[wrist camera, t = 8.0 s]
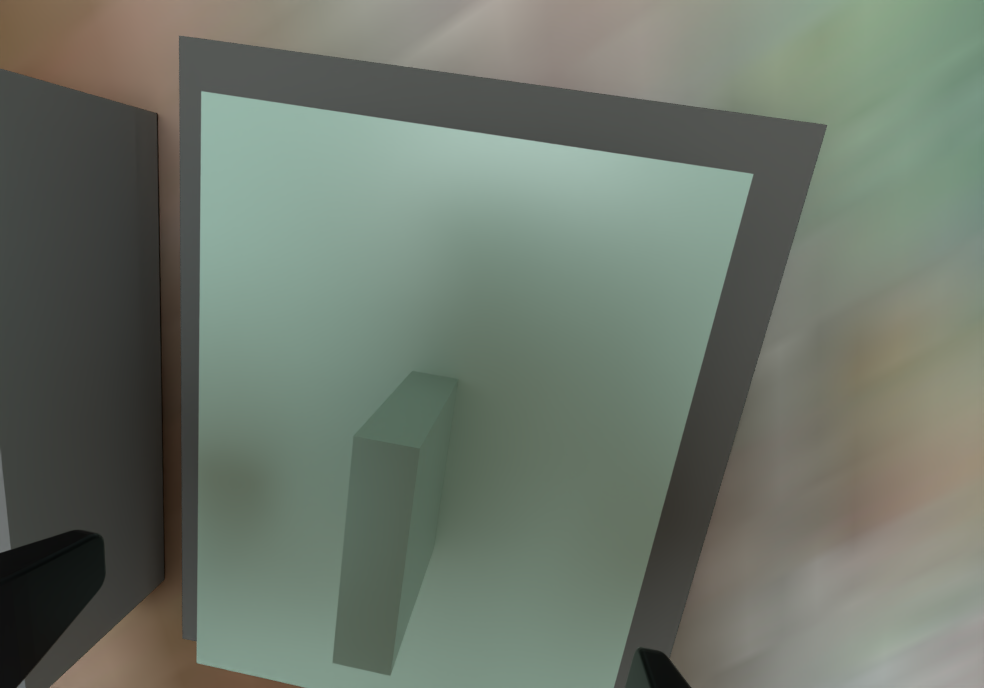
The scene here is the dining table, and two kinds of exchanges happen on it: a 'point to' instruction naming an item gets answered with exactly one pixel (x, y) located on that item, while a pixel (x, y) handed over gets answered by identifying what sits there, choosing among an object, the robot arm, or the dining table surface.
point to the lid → (438, 394)
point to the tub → (80, 342)
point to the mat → (556, 120)
